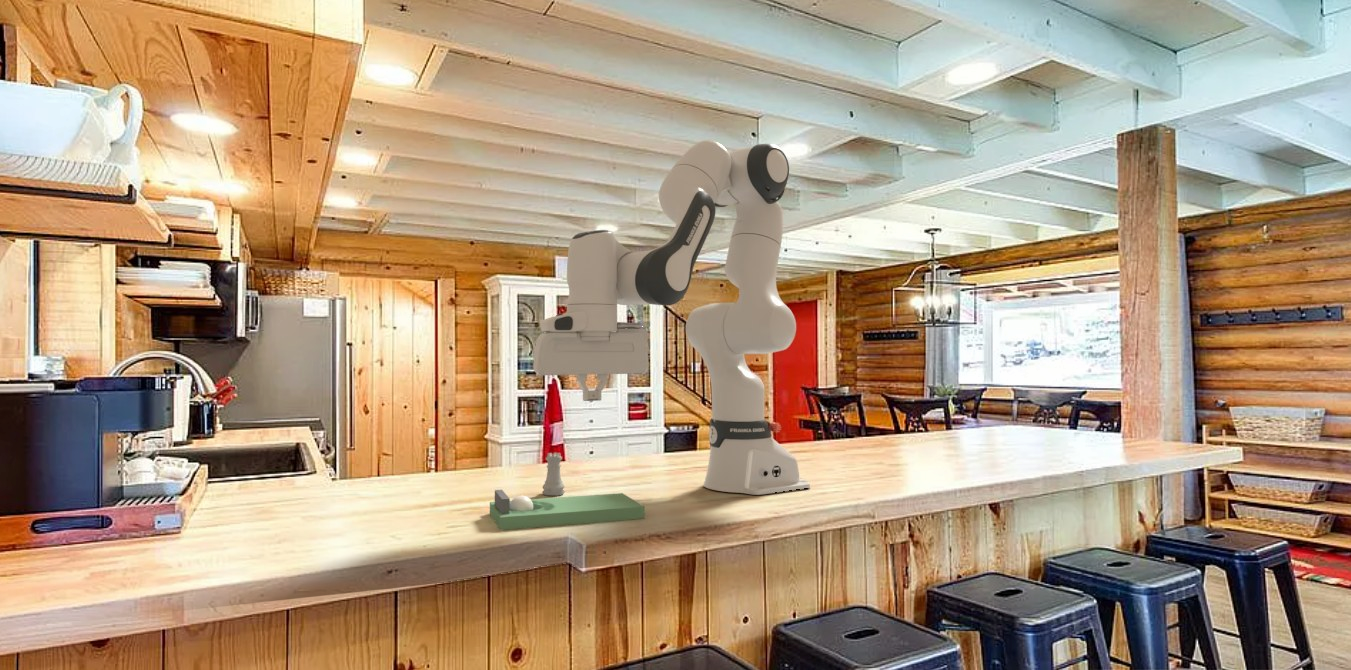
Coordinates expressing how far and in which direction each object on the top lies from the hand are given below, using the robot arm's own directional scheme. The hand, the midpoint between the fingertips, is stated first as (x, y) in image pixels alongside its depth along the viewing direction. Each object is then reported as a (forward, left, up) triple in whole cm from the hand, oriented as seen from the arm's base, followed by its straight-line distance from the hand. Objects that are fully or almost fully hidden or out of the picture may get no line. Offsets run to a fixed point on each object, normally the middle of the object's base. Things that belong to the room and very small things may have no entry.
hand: (592, 400), depth 125 cm
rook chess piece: (+3, -18, -20) cm, 27 cm away
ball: (+12, +1, -18) cm, 21 cm away
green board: (+5, +1, -20) cm, 20 cm away
